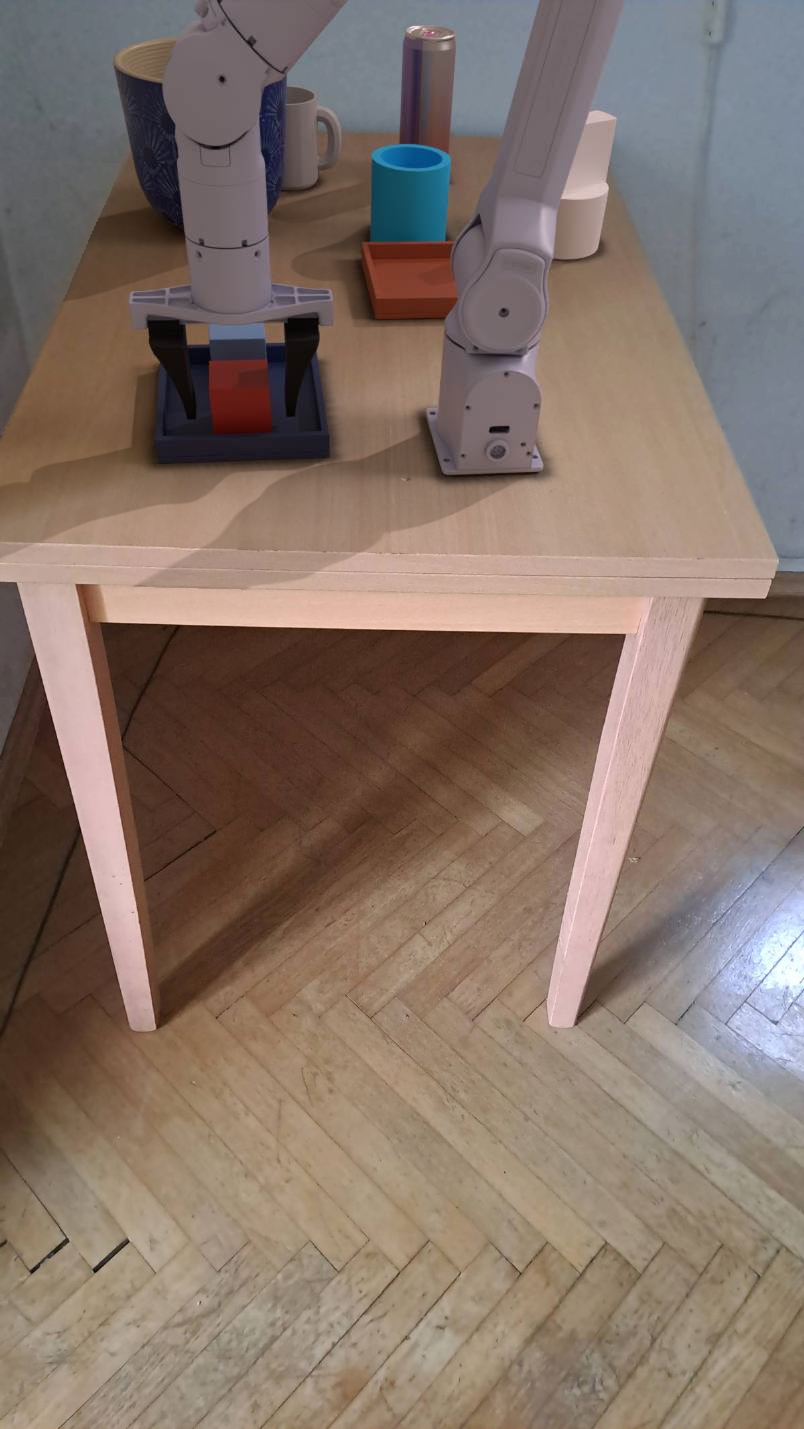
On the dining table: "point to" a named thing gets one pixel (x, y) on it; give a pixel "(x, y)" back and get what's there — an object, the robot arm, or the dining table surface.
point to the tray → (409, 278)
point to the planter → (156, 129)
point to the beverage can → (427, 86)
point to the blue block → (237, 342)
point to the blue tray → (200, 444)
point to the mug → (409, 193)
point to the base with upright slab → (585, 190)
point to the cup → (307, 139)
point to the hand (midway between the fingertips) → (241, 411)
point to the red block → (240, 396)
